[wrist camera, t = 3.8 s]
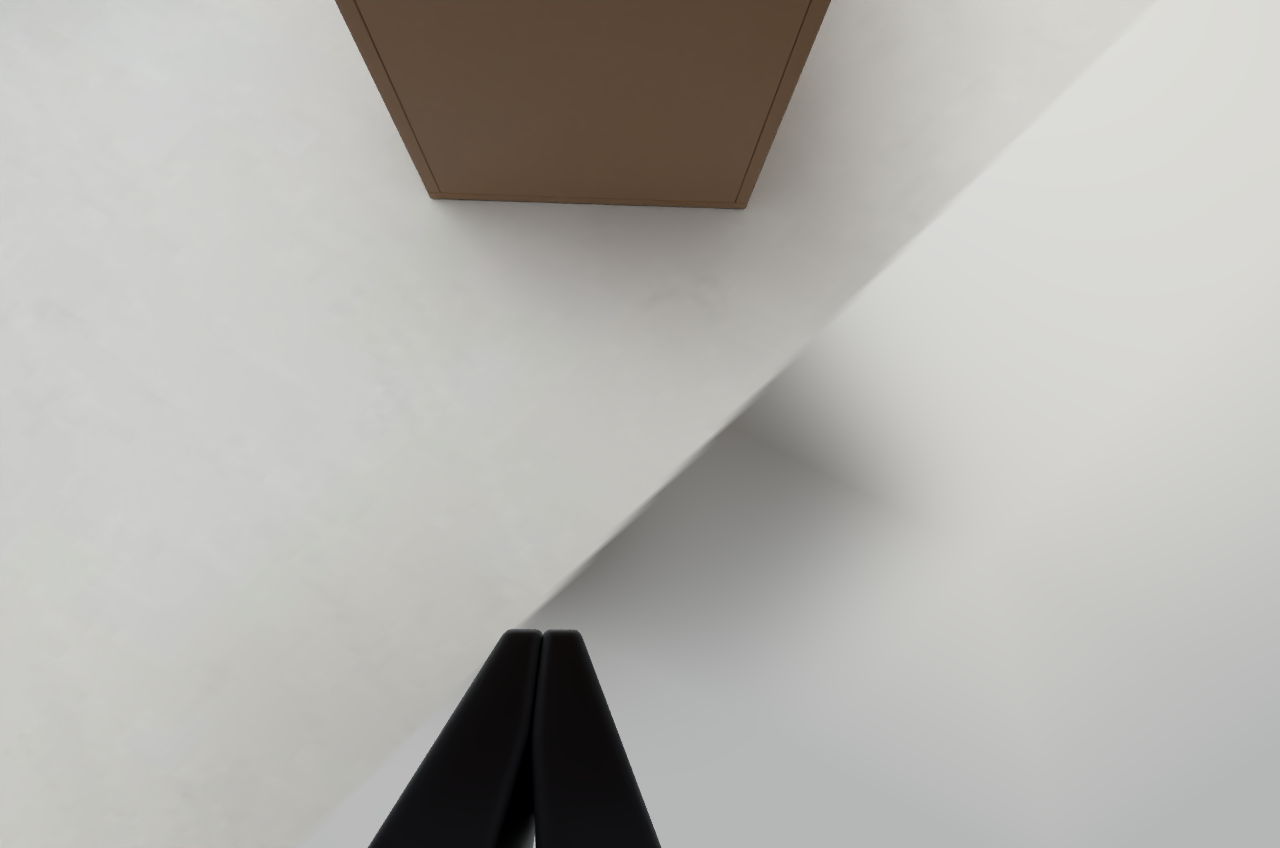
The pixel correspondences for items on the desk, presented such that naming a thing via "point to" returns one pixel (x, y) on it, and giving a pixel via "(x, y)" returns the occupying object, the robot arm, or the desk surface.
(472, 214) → the desk surface
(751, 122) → the carton
